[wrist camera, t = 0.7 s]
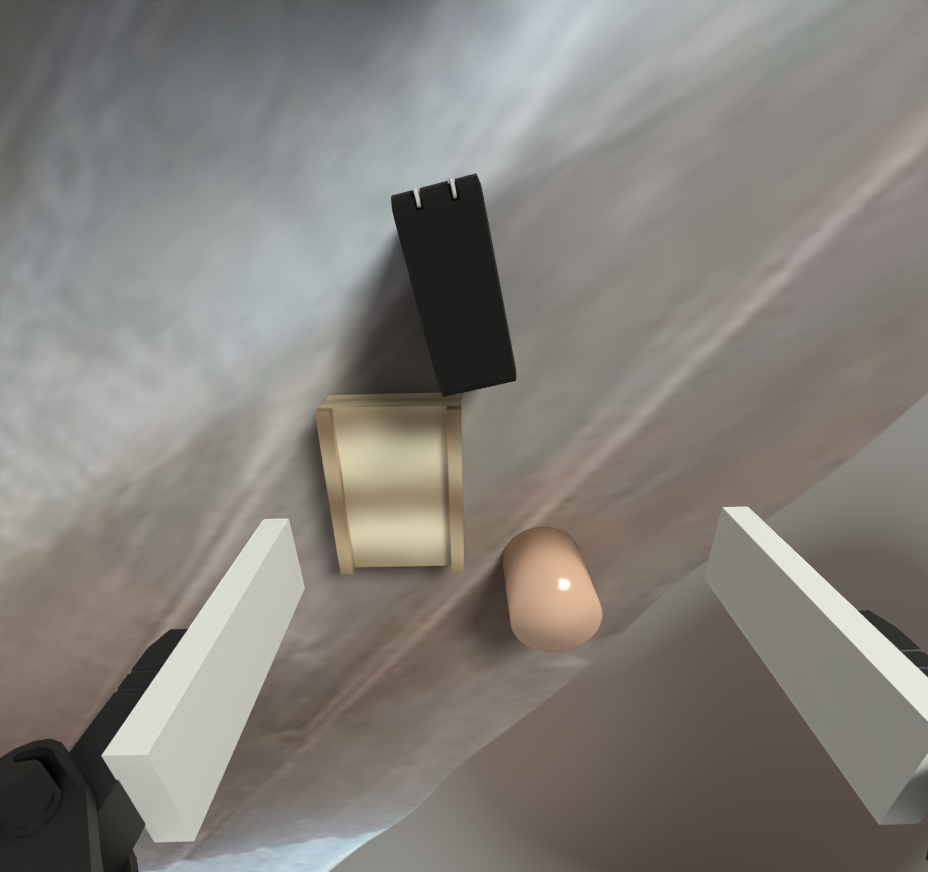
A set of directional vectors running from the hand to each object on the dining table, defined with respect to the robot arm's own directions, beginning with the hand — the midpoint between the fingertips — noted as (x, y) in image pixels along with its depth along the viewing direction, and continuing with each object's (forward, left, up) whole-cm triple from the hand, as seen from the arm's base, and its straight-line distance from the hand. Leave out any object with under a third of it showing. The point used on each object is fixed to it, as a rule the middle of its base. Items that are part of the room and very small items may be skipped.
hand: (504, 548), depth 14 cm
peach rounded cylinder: (+18, +6, -21) cm, 28 cm away
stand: (+9, -6, -21) cm, 24 cm away
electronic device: (-6, -1, -21) cm, 22 cm away
